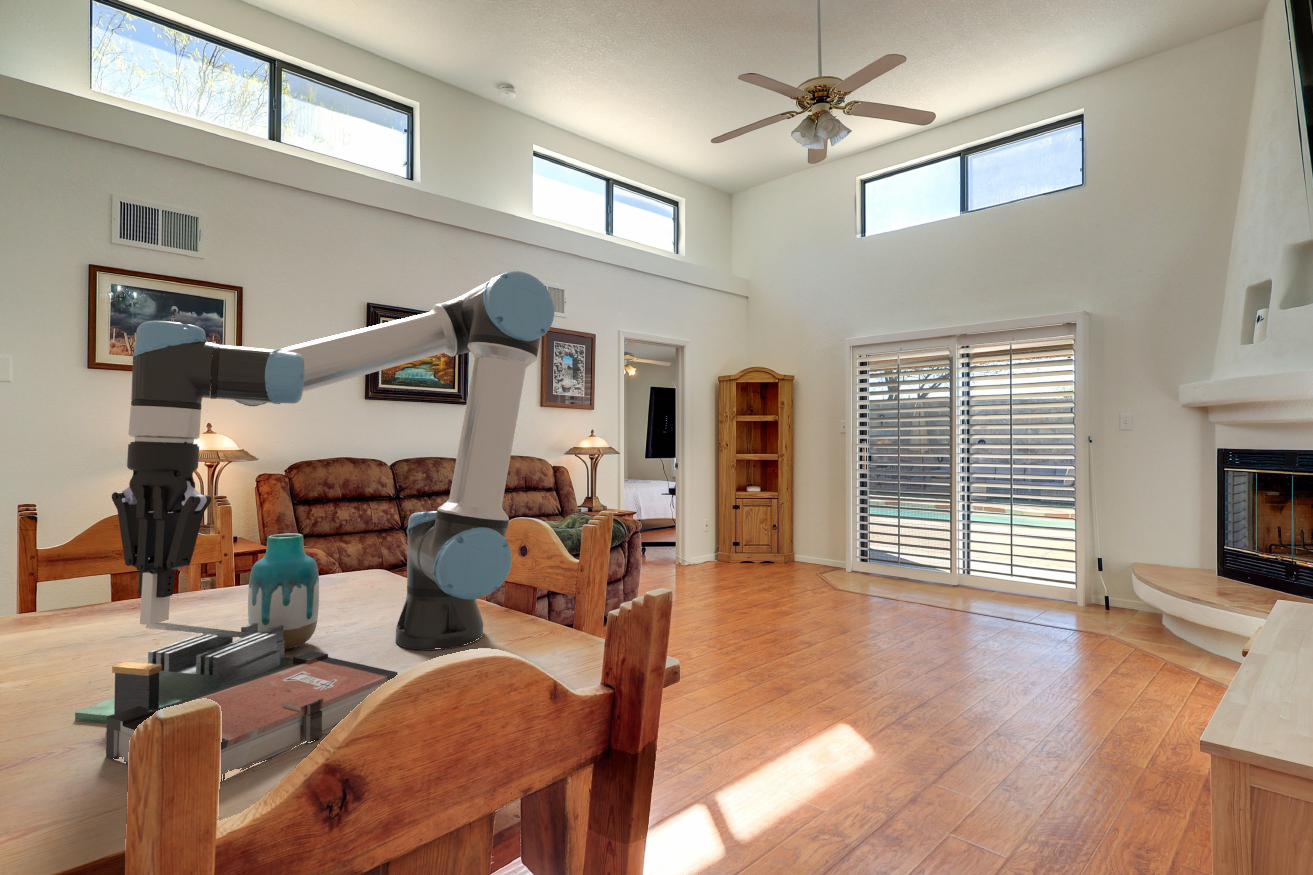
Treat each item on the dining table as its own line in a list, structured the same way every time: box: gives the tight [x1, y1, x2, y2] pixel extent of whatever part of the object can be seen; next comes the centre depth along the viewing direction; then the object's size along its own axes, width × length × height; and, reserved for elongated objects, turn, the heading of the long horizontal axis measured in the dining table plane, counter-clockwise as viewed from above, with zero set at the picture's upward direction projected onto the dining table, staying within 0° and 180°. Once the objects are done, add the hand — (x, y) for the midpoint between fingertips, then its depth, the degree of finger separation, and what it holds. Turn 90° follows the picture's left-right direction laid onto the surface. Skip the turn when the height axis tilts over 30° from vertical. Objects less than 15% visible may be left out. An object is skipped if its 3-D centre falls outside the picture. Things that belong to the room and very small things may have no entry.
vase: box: [247, 533, 320, 650], centre depth 114 cm, size 11×11×19 cm
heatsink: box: [74, 623, 293, 725], centre depth 94 cm, size 15×24×7 cm, turn 170°
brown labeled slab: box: [105, 650, 398, 783], centre depth 83 cm, size 26×18×5 cm
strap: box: [145, 622, 255, 639], centre depth 96 cm, size 3×20×1 cm, turn 170°
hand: (154, 621), depth 87 cm, fingers closed
